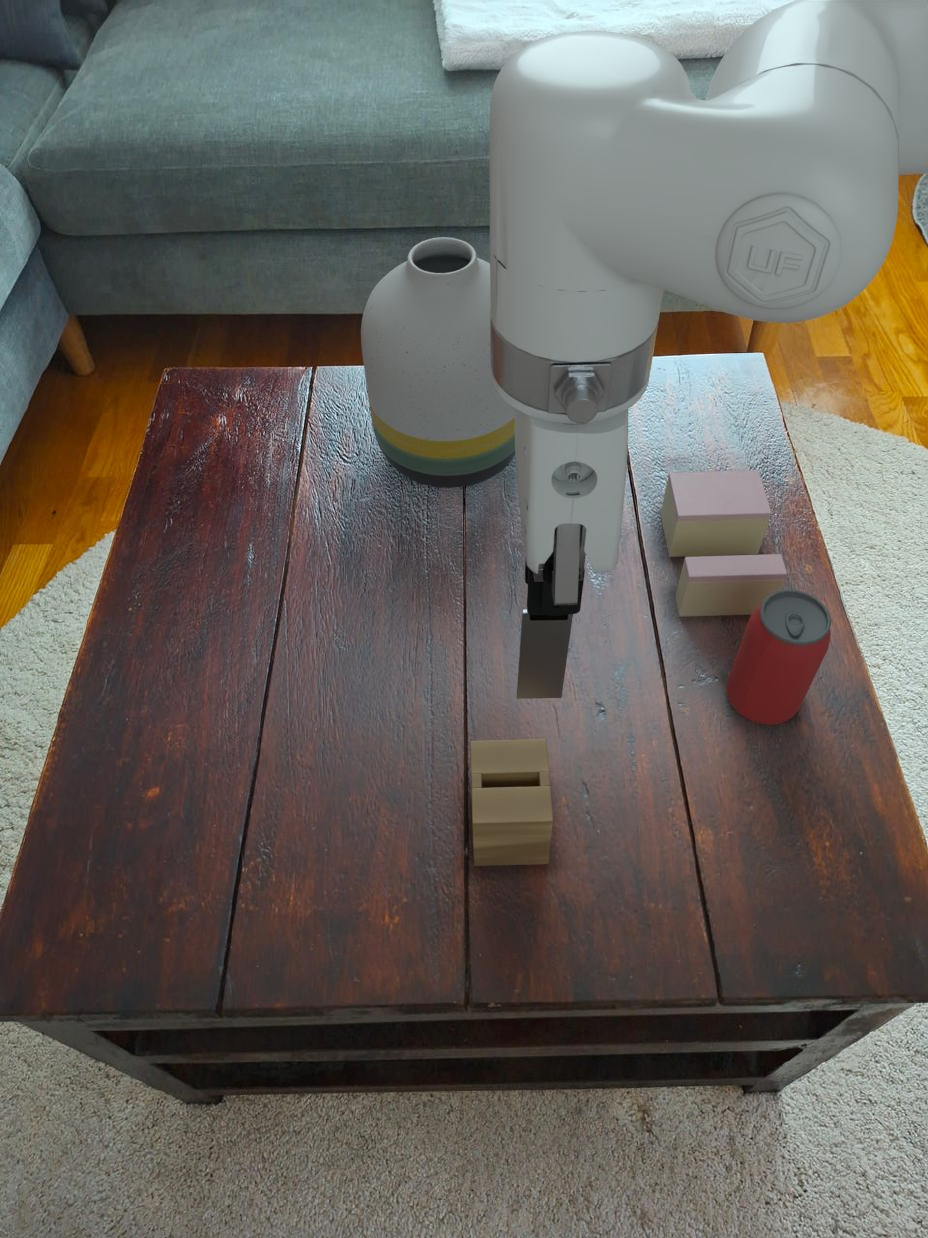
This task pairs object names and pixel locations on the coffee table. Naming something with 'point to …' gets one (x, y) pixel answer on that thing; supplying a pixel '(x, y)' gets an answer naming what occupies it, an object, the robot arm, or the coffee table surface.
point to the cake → (714, 513)
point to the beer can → (779, 656)
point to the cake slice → (728, 584)
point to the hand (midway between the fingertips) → (551, 594)
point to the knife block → (511, 802)
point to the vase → (436, 368)
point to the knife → (543, 655)
